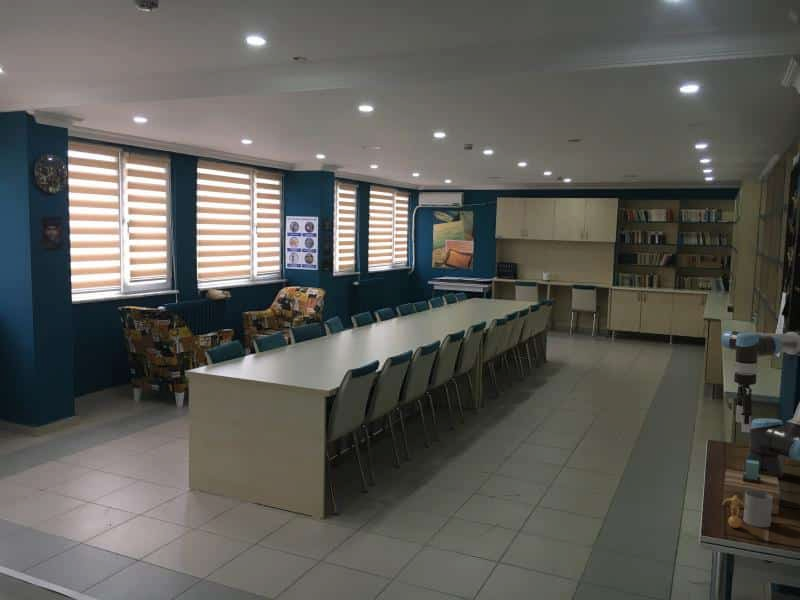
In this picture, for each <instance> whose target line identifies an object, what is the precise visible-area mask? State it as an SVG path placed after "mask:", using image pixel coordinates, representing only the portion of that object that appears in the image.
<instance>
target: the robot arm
mask: <svg viewBox="0 0 800 600" xmlns="http://www.w3.org/2000/svg"><path fill="white" fill-rule="evenodd" d="M721 344H722V347H724V348H726V349H729V350H730V351H731V350H732V351H735V361H734V363H733V366H734V376H733V377H734V379H733V381H734V382H735V383H736V384H738V386H737V393H736V399H735V402H736V413H735V414H736V417H735V422H737V423H741V433H742V432H743V433H749V444H748V453H747V455H746V457H745V460H744V462H743V464H742V471H743V472H746V465H747V460H753V461H759V471H758V474H759V475H765V476H771V477H777V478H778V479H780V478H782V477H783V476H784V468H783V466H782V461H781V456H785V457H787V458H790V459H792V460H794V461H799V462H800V401H799V403H798V405H797V407H796V410H795V412H794V415H793V417H792V418H791V419H788V420H787V421H786V423H785V425H784V424H783V423H784V422H783V421H782V420H781V419H778V418H777V419H776V418H768V417H767V418H766V417H765V418H764V417H763V418H762V417H761V418H754V419H753V420H751V417H752V415H753V410H752V409H753V407H752V391H753V390H752V388H751V387H750V386H751V385H756V384H757V376H758V375H757V373H758V357H769V356H770V357H772V356H775V355H778V354H780V353H782V352H783V353H786V354H788V355H793V356H794V355H795V356H798V357H800V331H788V332H785V333H772V332H771V333H770V332H751V331H750V332H749V331H748V332H746V331H736V330H726V331H725V332H724V333H723V334H722V336H721Z"/></svg>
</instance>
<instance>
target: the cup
mask: <svg viewBox="0 0 800 600" xmlns="http://www.w3.org/2000/svg"><path fill="white" fill-rule="evenodd" d="M772 498H773V496H772V495H770V494H768V493H766V492H762V491H757V490H748V491H746V493H745V505H746V507H747V508H748V510H747V509H746V508H745V506H744V508H743V519H742V520H743V521H744V522H745V523H746V524H747V525H749V526H752V527H757V528H769V527H771V521H772V513H771V511H772ZM748 511H749V512H748Z"/></svg>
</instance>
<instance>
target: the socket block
mask: <svg viewBox="0 0 800 600" xmlns="http://www.w3.org/2000/svg"><path fill="white" fill-rule="evenodd" d="M779 483H780V482H779V478H777V477H771V476H765V475H759V474H758V480H753V479H747V478H746V472H745V471H738V470H734V469H729V468H725V472H724V482H723V497H722V503H723V502H724V500H725V499H730V498H733V497H734V496H735V495H737V498H738V500H740V501H741V502H742V503H744V504H745V493H746V491H748V490H757V491H762V492H766V493H768V494H770V495H772V496H773V498H772V511H771V515H772V514H773V515H779V507H780V494H781V492H780V485H779ZM723 505H724V506H730V507H731V505H733V504H732V502H731V501H726V502H725V503H724V504H723ZM738 506H739V509H741V508H742V509H744V505H742V504H740V503H738V505H737V507H738Z"/></svg>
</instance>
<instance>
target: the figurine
mask: <svg viewBox="0 0 800 600" xmlns="http://www.w3.org/2000/svg"><path fill="white" fill-rule="evenodd" d="M726 501H731V502H732V504H733V505H731V506H730V511H731V512H730V513H731V516H730V517H729V518H728V524H729V526H730V527H732V528H734V529H737V528H740V527H741V526H742V520H741V518H740V517H739V515H740V514H739V513H740V507H739V506H738V507H737V505H738V503H740V504H742V505H744V506H745V508H746V509H747V510H748V508H747V507H746V505H745V504H744V503H742V502H741V501H740V500H738V498H737V495H735V496H734V497H733V498H730V499H725V500H724V502H723V501H722V503H721V506H723V505H724V503H725V502H726ZM734 510H735V511H736V513H735V515H734ZM748 512H749V511H748Z"/></svg>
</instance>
